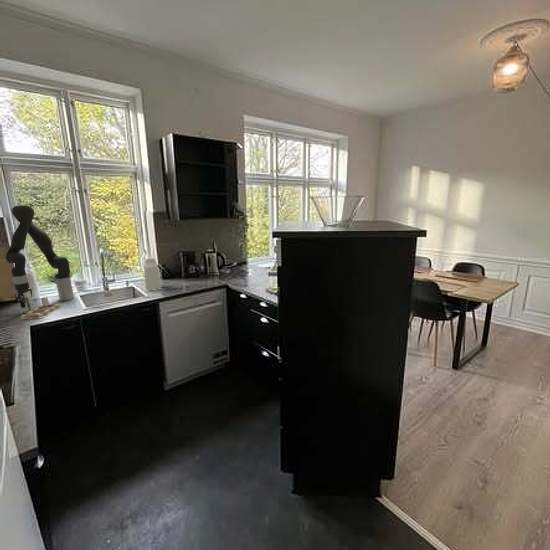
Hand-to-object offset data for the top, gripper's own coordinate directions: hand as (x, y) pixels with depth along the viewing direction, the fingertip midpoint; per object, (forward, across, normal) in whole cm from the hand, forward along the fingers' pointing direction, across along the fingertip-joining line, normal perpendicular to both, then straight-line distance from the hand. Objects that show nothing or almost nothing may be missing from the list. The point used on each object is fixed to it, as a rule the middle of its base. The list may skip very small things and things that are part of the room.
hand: (26, 305), depth 207 cm
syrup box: (+5, 0, 0) cm, 5 cm away
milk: (+5, -40, +74) cm, 84 cm away
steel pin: (+5, -2, +11) cm, 12 cm away
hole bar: (+5, +4, +11) cm, 13 cm away
